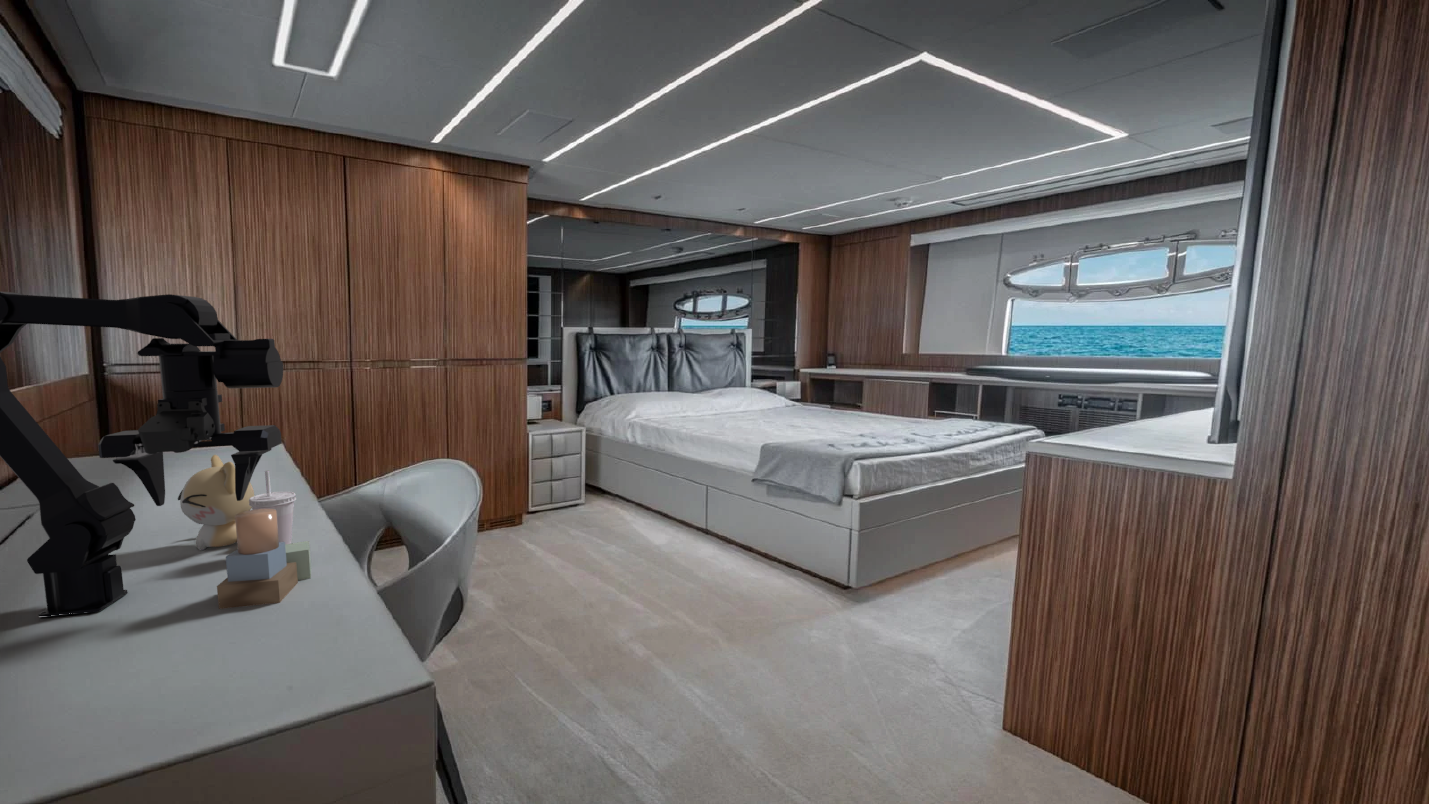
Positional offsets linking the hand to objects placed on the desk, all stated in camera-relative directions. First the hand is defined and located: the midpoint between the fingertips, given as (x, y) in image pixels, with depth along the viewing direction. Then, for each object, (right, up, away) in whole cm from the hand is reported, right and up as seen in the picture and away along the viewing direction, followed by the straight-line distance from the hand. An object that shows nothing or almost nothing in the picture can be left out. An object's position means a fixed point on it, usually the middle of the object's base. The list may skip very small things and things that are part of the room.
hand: (200, 502), depth 87 cm
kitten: (-15, -11, +22) cm, 29 cm away
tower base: (+7, -13, +1) cm, 15 cm away
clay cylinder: (+8, -6, 0) cm, 10 cm away
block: (+7, -12, +8) cm, 16 cm away
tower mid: (+7, -10, +1) cm, 12 cm away
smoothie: (-2, -11, +18) cm, 21 cm away
